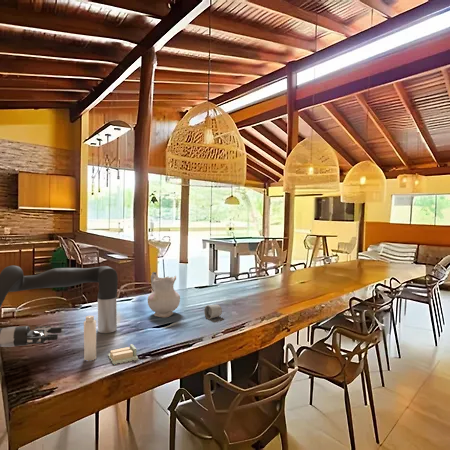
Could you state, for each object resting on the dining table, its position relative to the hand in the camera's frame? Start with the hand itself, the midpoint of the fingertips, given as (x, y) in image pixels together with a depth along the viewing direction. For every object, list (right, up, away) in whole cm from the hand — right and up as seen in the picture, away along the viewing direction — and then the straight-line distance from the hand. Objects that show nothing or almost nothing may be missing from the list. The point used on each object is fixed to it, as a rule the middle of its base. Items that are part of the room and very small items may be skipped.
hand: (59, 333), depth 144 cm
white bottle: (+11, -12, +4) cm, 17 cm away
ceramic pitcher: (+30, -9, +68) cm, 75 cm away
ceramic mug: (+60, -10, +62) cm, 87 cm away
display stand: (+25, -12, +5) cm, 28 cm away
